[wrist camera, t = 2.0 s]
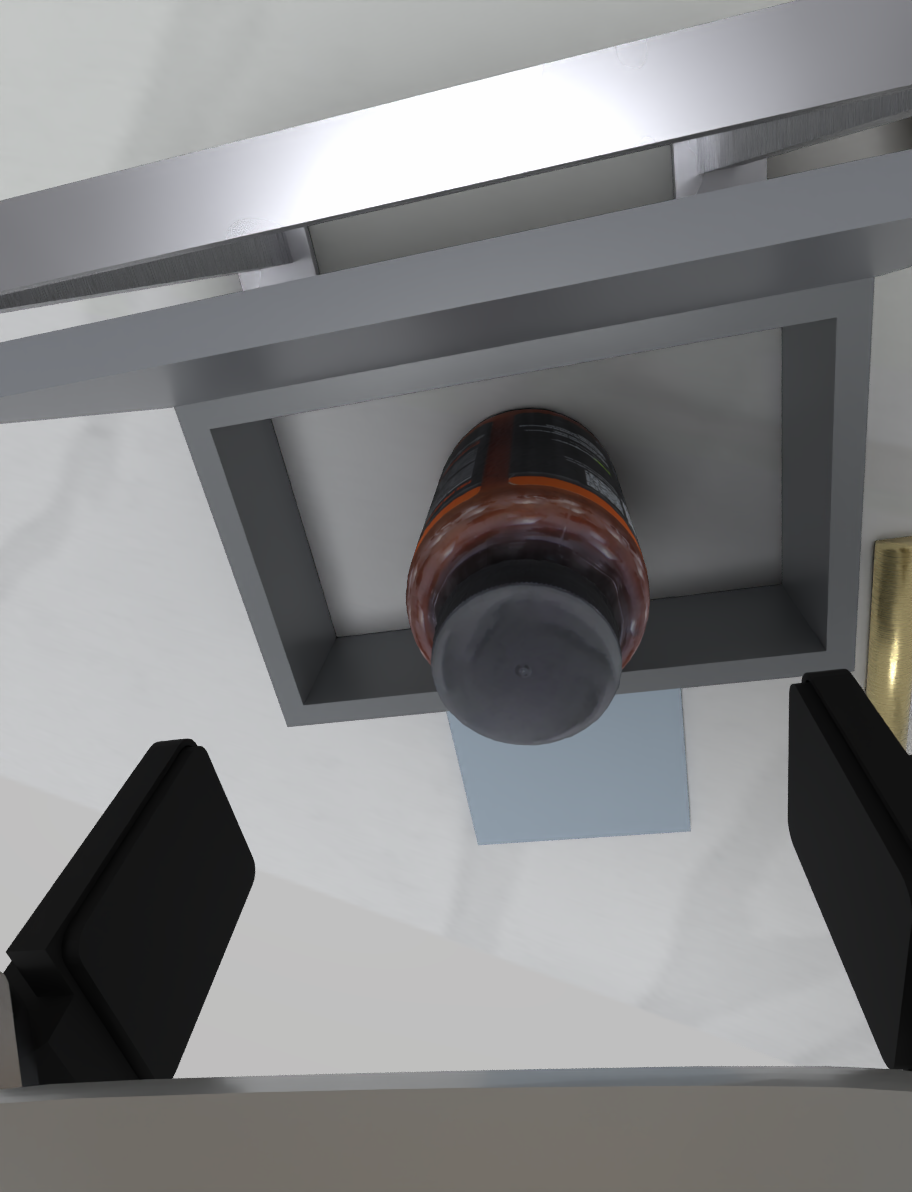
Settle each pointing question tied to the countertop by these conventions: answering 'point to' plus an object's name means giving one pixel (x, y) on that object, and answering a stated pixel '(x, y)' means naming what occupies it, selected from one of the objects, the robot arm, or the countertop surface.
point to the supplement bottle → (528, 580)
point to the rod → (891, 634)
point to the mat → (582, 776)
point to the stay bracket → (468, 149)
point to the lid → (478, 295)
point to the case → (675, 625)
